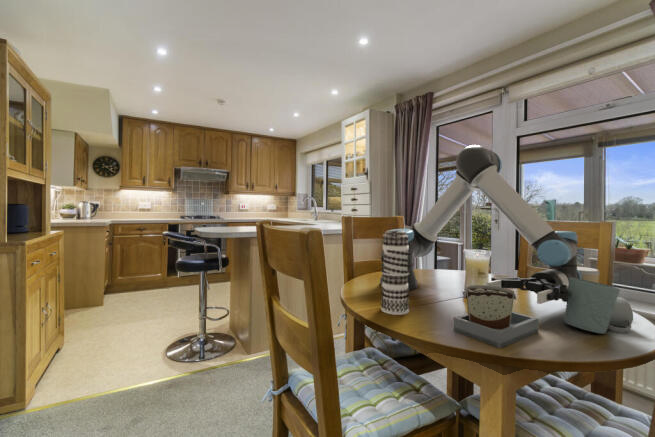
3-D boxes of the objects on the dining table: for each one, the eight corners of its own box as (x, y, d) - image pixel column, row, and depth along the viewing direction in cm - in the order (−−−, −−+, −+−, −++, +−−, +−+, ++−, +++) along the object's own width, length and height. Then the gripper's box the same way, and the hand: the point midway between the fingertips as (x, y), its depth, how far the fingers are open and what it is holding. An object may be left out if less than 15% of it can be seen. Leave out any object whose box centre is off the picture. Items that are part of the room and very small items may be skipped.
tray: (453, 330, 80) (453, 317, 79) (491, 318, 89) (492, 306, 89) (500, 348, 69) (500, 333, 69) (537, 331, 79) (538, 318, 79)
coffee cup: (588, 300, 108) (589, 266, 107) (605, 309, 98) (606, 271, 98) (557, 298, 110) (558, 265, 109) (572, 306, 101) (573, 270, 100)
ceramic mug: (581, 318, 90) (582, 292, 89) (615, 320, 88) (616, 294, 87) (603, 332, 80) (605, 303, 79) (642, 336, 77) (644, 306, 77)
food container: (505, 322, 83) (506, 285, 83) (515, 331, 77) (516, 291, 77) (457, 319, 85) (458, 283, 85) (464, 328, 79) (464, 289, 78)
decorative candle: (416, 311, 94) (417, 231, 94) (394, 317, 89) (395, 231, 89) (395, 304, 102) (396, 229, 102) (374, 308, 97) (374, 230, 97)
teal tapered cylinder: (555, 317, 87) (563, 275, 87) (599, 327, 84) (607, 284, 84) (570, 327, 78) (579, 280, 78) (620, 339, 74) (629, 290, 74)
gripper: (599, 305, 84) (565, 319, 73) (506, 286, 105) (469, 295, 94) (600, 278, 84) (565, 288, 73) (507, 264, 105) (469, 271, 94)
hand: (511, 292), depth 83 cm, fingers open, 13 cm apart
